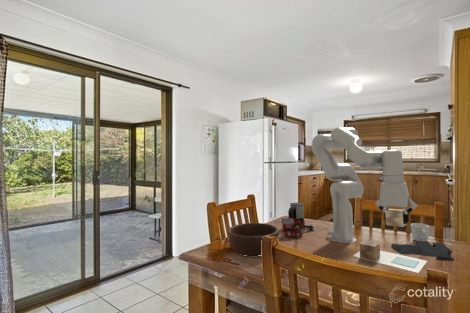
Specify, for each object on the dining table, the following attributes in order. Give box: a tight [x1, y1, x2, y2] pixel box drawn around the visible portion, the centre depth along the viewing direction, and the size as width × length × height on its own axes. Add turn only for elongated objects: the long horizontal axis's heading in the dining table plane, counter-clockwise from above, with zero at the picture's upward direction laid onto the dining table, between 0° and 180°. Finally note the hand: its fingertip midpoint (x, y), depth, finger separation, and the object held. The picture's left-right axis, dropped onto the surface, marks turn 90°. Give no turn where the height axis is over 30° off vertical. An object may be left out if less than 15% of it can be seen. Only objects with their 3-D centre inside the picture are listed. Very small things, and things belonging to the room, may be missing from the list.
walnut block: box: [359, 239, 381, 262], centre depth 110 cm, size 6×6×6 cm
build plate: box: [352, 249, 428, 274], centre depth 108 cm, size 24×15×1 cm, turn 43°
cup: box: [410, 222, 430, 243], centre depth 131 cm, size 11×8×8 cm
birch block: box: [385, 208, 408, 228], centre depth 107 cm, size 6×6×6 cm
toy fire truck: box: [281, 217, 305, 239], centre depth 145 cm, size 7×12×10 cm, turn 86°
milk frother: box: [287, 202, 315, 230], centre depth 162 cm, size 14×16×15 cm
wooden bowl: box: [227, 222, 279, 256], centre depth 126 cm, size 25×25×10 cm
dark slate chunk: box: [390, 241, 455, 262], centre depth 116 cm, size 15×22×5 cm
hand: (396, 222), depth 106 cm, fingers closed on birch block, 6 cm apart
